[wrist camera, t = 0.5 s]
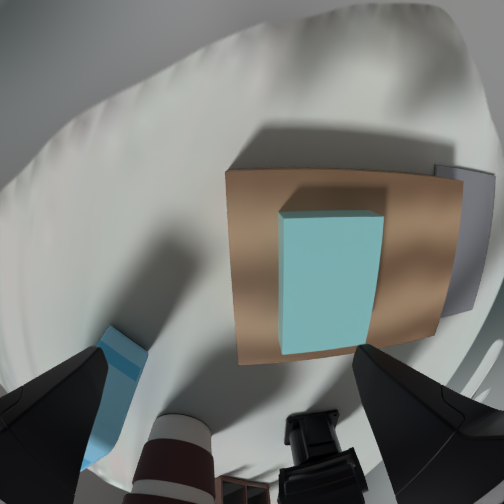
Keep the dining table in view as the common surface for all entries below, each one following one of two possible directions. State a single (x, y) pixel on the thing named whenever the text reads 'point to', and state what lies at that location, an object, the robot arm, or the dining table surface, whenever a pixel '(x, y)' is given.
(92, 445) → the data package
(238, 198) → the brown flat block
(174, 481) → the coffee cup
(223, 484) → the letter holder
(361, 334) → the teal foam pad
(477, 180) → the mat
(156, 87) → the dining table surface
